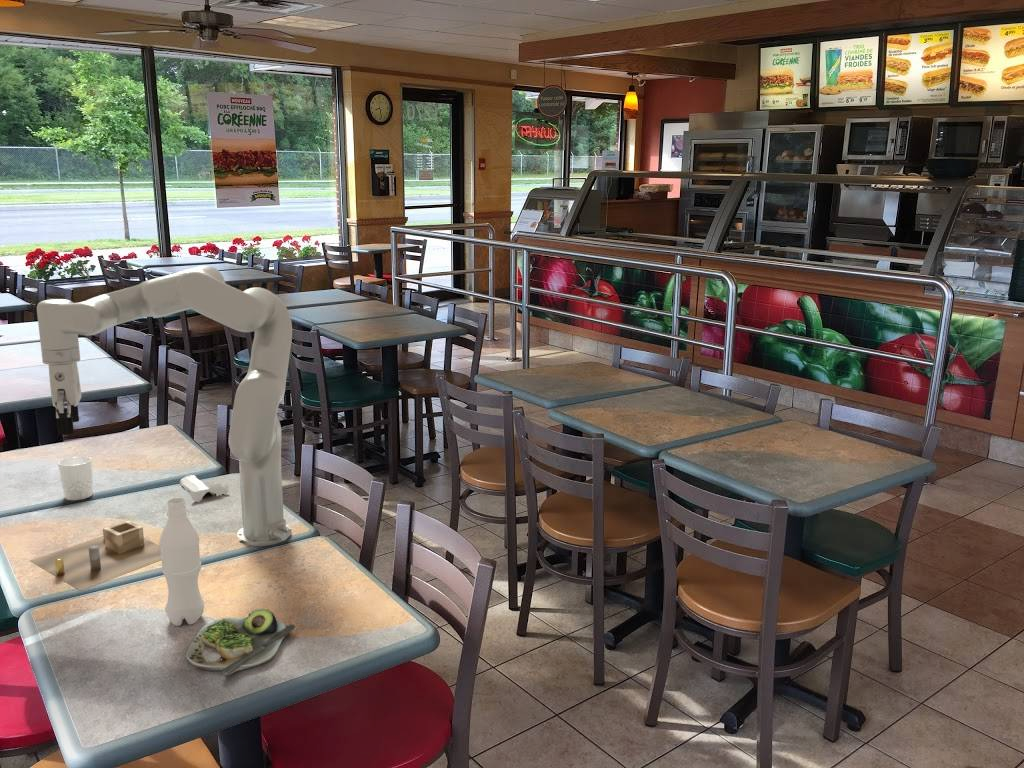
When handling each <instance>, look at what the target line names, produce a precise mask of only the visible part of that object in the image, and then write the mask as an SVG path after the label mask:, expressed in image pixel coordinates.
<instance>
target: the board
mask: <svg viewBox="0 0 1024 768" xmlns="http://www.w3.org/2000/svg"><path fill="white" fill-rule="evenodd" d="M57 558H63V563H64V571H65V574H64V575H63V576H56V568H55V559H57ZM160 561H161V550H160V546H159V544H158V543H155V542H153V541H151V540H149V539H147V538H145V537H144V545H143V546H140V547H137V548H135V549H132V550H129V551H126V552H123V553H121V554H119V553H117V552H115V551H113V550H111V549H109V548H107V547H106V546H105V539H104V536H103V535H102V536H99V537H95V538H93V539H90V540H87V541H84V542H81V543H77V544H75V545H72V546H69V547H66V548H63V549H60V550H57V551H53V552H51V553H48V554H46V555H45V554H44V555H42V556H39V557H36V558H32V559H30V560H29V562H31V563H32V564H35V565H36V566H38V567H39V568H41V569H43V570H44V571H46V572H48V573H49V574H51V575H52V576H54V577H56V578H59V580H61V581H62V582H64V583H67V584H68V585H70V586H71V587H73V588H75V589H76V590H78V591H81V592H82V591H83V590H87V589H89V588H92V587H95V586H96V585H99V584H103V583H104V582H107V581H110V580H113V579H115V578H118V577H121V576H123V575H126V574H128V573H132V572H133V571H137V570H139V569H141V568H145V567H147V566H149V565H152V564H155V563H158V562H160Z"/></svg>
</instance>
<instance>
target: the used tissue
mask: <svg viewBox="0 0 1024 768" xmlns="http://www.w3.org/2000/svg"><path fill="white" fill-rule="evenodd" d="M179 484H180V485H181V484H182V485H181V487H182V486H184V487H185V488H186V489H187V490H188V492H189V491H190V492H189V493H188V494H189V495H190V497H191V499H192V501H193V502H194V503H196V502H198V503H201V501H202V500H203V497H204V496H205V495H206V494H208V493H209V494H211V495H212V496H216V497H219V495H220V496H224V495H225V494H226V495H227V494H228V493H230V490H229V485H228V484H226V485H224V486H222V483H220V482H219V483H216V484H213V485H210V486H207V485H205V483H204V482H203V481H202V480H200V479H198V478H197V476H196V475H194V474H191V475H186V476H184V477H183V478H181V479H180V480H179ZM185 488H184V489H185ZM186 489H185V490H186ZM187 490H186V491H187ZM215 494H216V495H215ZM222 494H224V495H222ZM226 495H225V496H226Z"/></svg>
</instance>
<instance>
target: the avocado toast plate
mask: <svg viewBox="0 0 1024 768" xmlns="http://www.w3.org/2000/svg"><path fill="white" fill-rule="evenodd" d="M247 615H248V616H246V617H232V616H231V617H221V618H217V619H214V620H212V621H210V622H209V623H208V622H207V623H206V624H205V625H203V626H202V627H200V629H199V631H198V632H197V634H196V635H195V637H194V639H192V642H191V644H190V645H189V647H188V649H187V650H186V653H185V658H186V661H187V662H188V663H189V664H191V666H193V667H195V668H198V669H201V670H204V671H208V670H209V672H220V674H221V675H223V676H230V675H232V674H233V673H235V672H240V671H241V670H245V669H246V670H247V669H250V668H252V667H253V668H254V667H256V666H259V665H261V664H264V663H266V662H268V661H271V659H273V657H274V656H275V655H276V654H277V652H278V650H279V648H280V647H281V643H282V642H283V640H284V639H285V638H286V636H288V635H290V633H291V632H293V630H294V629H295V628H296V626H295V624H292V623H291V624H289V625H286V624H285V623H284V622H282V621H281V620H279V619H276V615H275V614H274V613H273V612H272V610H269V609H264V608H262V609H256V610H253V611H252V612H250V613H248V614H247ZM205 646H208V647H209V646H210V648H212V649H215V648H216V651H217V653H218V655H220V656H221V657H220V659H219V660H220V661H219V660H215V661H214V660H213V661H208V660H207V659H206V658H205V657H204V655H203V650H204V647H205ZM221 659H222V660H221ZM206 660H207V661H208V662H207V661H206Z"/></svg>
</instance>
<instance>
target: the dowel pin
mask: <svg viewBox="0 0 1024 768" xmlns="http://www.w3.org/2000/svg"><path fill="white" fill-rule="evenodd" d="M55 568H56V576H63V575H64V574H65V571H64V563H63V558H57V559H55ZM56 576H55V577H56Z"/></svg>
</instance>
